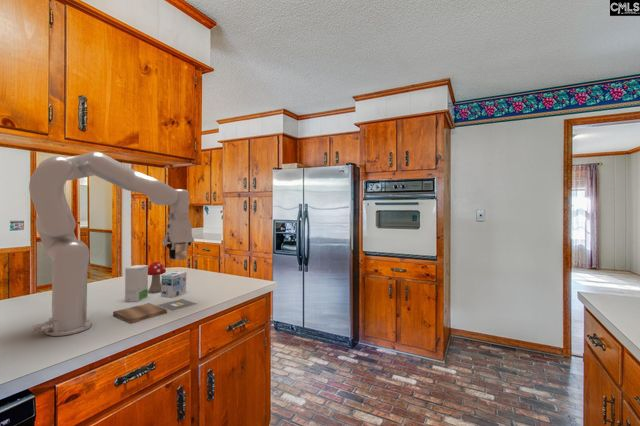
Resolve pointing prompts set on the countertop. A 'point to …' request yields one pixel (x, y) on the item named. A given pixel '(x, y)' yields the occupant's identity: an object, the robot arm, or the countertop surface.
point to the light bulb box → (173, 284)
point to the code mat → (177, 304)
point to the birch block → (180, 251)
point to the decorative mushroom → (156, 276)
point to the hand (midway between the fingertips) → (178, 257)
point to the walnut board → (139, 312)
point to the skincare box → (136, 283)
